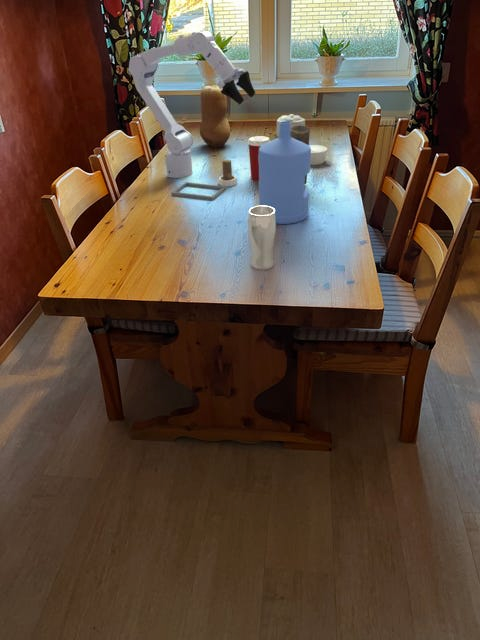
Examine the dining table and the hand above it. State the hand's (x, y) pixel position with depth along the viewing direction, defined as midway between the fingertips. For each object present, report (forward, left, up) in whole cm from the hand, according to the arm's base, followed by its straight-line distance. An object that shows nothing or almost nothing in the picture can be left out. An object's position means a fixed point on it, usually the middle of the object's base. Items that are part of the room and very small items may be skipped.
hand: (247, 98), depth 166 cm
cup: (-7, -4, -29) cm, 30 cm away
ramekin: (+15, +32, -29) cm, 46 cm away
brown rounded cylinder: (+17, +3, -29) cm, 34 cm away
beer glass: (+26, -57, -29) cm, 69 cm away
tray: (-13, -16, -29) cm, 35 cm away
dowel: (-7, -4, -28) cm, 29 cm away
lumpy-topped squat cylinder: (-6, +69, -29) cm, 75 cm away
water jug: (+21, -24, -29) cm, 43 cm away
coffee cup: (+2, +5, -29) cm, 30 cm away
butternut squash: (-33, +42, -29) cm, 61 cm away
